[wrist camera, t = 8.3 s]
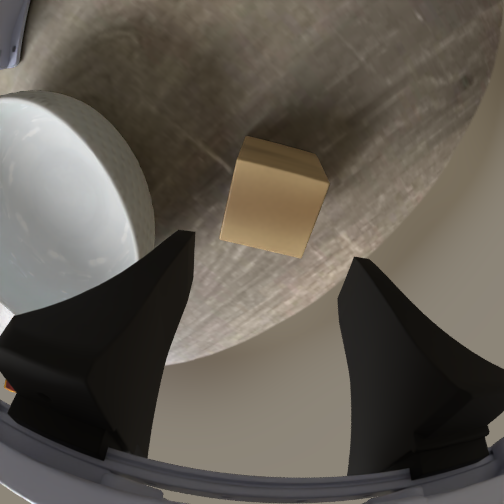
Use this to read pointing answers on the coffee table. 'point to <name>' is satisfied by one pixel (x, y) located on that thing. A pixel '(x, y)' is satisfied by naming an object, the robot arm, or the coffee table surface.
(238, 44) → the coffee table surface
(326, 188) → the block
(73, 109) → the cereal bowl
